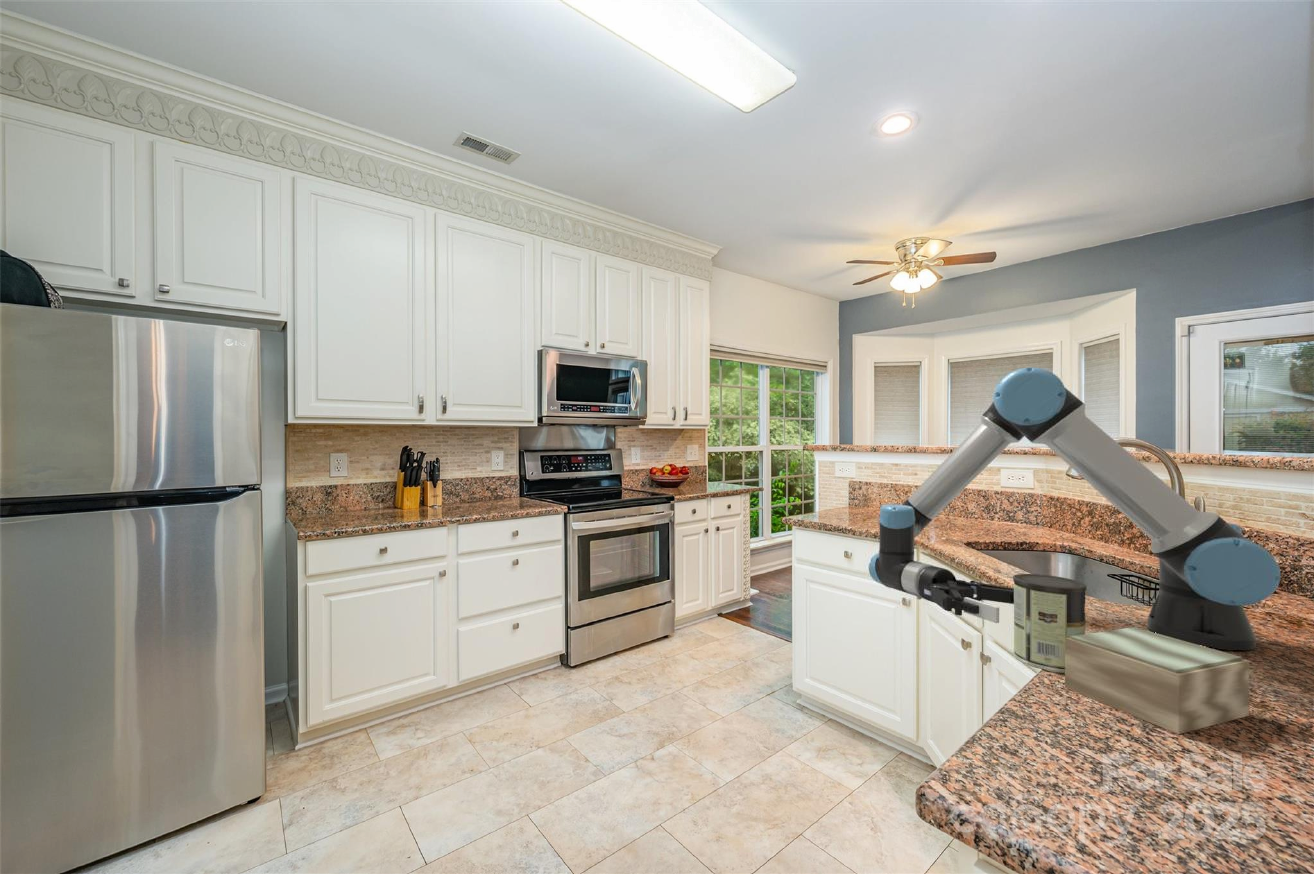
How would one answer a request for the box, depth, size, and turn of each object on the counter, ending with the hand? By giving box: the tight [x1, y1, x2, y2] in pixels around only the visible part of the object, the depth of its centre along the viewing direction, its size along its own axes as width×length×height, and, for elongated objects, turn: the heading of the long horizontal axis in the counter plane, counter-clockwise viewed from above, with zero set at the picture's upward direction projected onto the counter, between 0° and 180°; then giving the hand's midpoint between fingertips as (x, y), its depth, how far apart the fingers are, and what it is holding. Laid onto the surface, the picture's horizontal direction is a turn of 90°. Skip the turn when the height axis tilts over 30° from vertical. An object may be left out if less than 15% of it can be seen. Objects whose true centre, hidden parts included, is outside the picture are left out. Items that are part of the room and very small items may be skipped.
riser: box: [1064, 626, 1250, 735], centre depth 79 cm, size 16×14×8 cm
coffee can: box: [1012, 573, 1087, 674], centre depth 93 cm, size 10×10×14 cm
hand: (1025, 612), depth 96 cm, fingers open, 13 cm apart
